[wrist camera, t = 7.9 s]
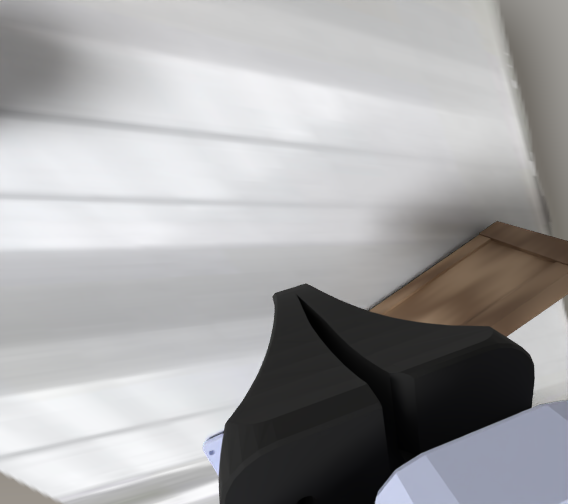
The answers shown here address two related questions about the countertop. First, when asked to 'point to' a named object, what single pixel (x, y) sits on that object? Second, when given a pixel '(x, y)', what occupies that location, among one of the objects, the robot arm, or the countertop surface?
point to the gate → (487, 282)
